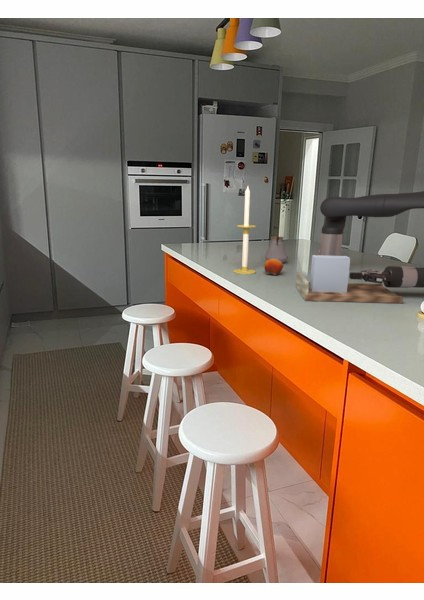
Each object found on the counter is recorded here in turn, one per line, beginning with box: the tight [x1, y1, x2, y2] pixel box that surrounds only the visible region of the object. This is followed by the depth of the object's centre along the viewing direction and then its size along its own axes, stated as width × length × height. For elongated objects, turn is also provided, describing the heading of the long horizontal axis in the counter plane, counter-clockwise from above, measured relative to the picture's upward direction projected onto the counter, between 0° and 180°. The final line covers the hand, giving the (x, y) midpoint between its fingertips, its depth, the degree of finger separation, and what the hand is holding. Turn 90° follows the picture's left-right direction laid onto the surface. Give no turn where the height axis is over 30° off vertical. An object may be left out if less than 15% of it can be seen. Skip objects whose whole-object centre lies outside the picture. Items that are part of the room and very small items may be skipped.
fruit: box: [264, 259, 284, 276], centre depth 183 cm, size 8×8×8 cm
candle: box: [232, 185, 257, 275], centre depth 183 cm, size 10×10×38 cm
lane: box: [295, 271, 404, 305], centre depth 149 cm, size 32×20×6 cm, turn 88°
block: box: [309, 254, 351, 292], centre depth 148 cm, size 12×5×12 cm, turn 88°
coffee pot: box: [264, 235, 288, 265], centre depth 206 cm, size 21×12×15 cm, turn 172°
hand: (350, 275), depth 148 cm, fingers closed
